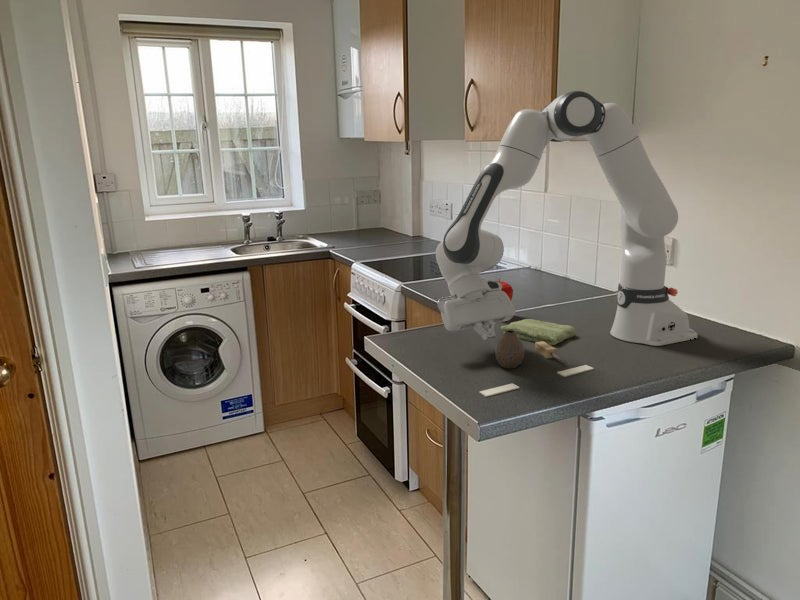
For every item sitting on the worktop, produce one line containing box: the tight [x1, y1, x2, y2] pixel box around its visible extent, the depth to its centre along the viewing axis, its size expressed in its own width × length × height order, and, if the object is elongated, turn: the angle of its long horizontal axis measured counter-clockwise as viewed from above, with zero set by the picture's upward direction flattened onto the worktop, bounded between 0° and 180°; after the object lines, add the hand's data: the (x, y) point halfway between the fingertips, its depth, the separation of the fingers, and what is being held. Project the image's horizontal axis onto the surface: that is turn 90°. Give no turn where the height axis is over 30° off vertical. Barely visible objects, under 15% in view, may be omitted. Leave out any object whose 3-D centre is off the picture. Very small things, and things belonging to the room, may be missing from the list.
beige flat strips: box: [479, 364, 594, 398], centre depth 139 cm, size 31×2×1 cm, turn 117°
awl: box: [534, 341, 566, 364], centre depth 152 cm, size 12×2×2 cm, turn 17°
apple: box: [496, 278, 514, 301], centre depth 187 cm, size 9×8×12 cm
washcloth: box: [500, 318, 577, 346], centre depth 170 cm, size 13×18×3 cm
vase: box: [494, 330, 525, 369], centre depth 147 cm, size 7×7×9 cm
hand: (490, 338), depth 154 cm, fingers closed
